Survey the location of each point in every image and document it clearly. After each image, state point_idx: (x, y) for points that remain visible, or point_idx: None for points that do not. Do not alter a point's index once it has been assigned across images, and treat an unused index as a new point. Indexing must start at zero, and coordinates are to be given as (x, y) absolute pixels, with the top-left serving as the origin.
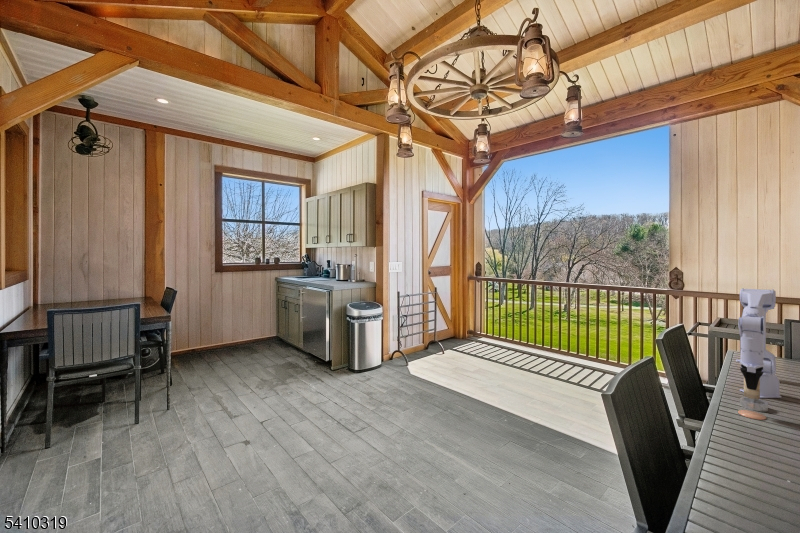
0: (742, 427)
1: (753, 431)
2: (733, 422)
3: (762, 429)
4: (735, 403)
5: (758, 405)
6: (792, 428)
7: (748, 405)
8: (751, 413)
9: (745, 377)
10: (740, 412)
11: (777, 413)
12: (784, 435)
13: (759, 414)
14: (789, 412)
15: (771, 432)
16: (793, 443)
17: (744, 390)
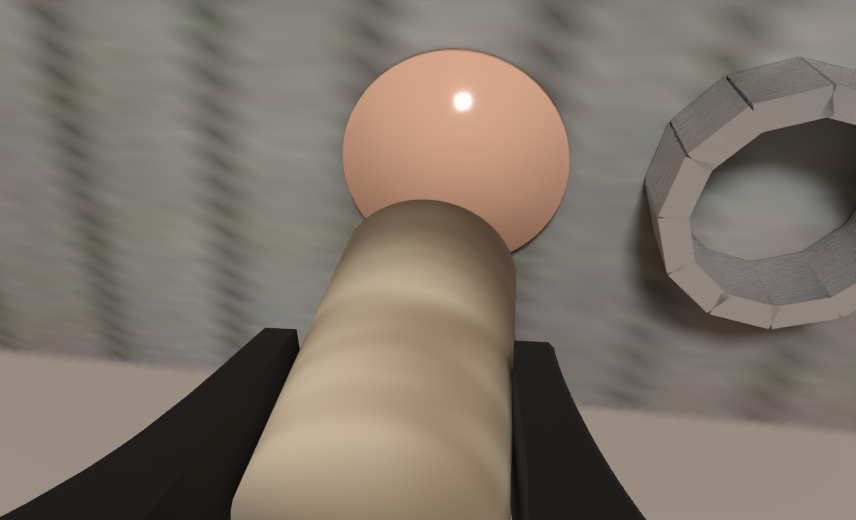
0: (21, 95)
1: (16, 167)
2: (76, 23)
3: (134, 222)
4: (821, 8)
5: (660, 248)
6: None
7: (670, 154)
8: (477, 165)
9: (78, 487)
10: (426, 75)
11: (696, 335)
12: (150, 329)
13: (501, 223)
14: (797, 407)
15: (128, 269)
16: (48, 355)
17: (366, 255)
